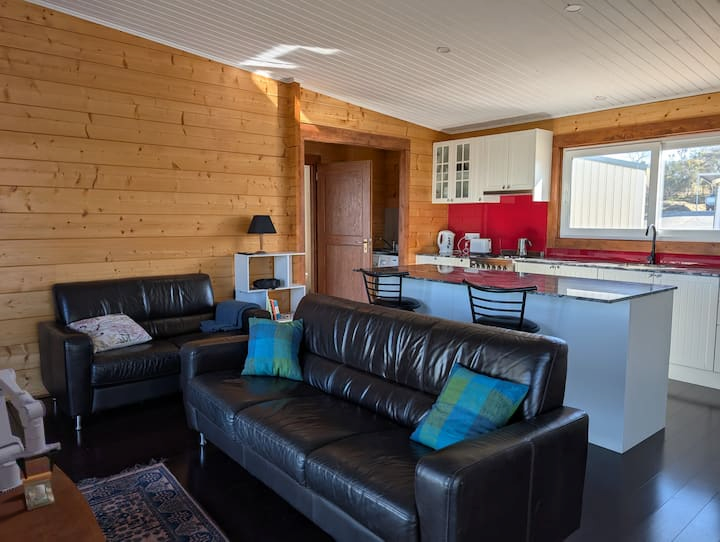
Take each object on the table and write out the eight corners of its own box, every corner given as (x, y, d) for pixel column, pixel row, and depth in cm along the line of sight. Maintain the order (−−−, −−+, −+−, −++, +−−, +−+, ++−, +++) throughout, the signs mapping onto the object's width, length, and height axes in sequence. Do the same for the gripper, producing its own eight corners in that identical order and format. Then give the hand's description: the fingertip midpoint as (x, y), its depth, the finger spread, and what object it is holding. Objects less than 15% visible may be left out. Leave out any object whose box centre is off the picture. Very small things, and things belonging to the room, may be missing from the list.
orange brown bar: (22, 482, 190) (22, 478, 190) (50, 475, 195) (50, 471, 195) (22, 485, 188) (22, 481, 188) (51, 477, 193) (51, 473, 193)
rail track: (24, 492, 191) (23, 481, 191) (49, 485, 196) (49, 474, 195) (27, 510, 180) (27, 498, 180) (54, 502, 185) (53, 490, 184)
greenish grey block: (33, 500, 184) (32, 486, 183) (46, 496, 186) (45, 482, 186) (34, 504, 181) (33, 490, 181) (47, 501, 184) (46, 487, 183)
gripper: (10, 446, 174) (15, 485, 175) (60, 434, 183) (64, 471, 184) (9, 440, 180) (13, 478, 181) (57, 428, 188) (61, 465, 189)
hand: (38, 474), depth 183 cm, fingers open, 7 cm apart
